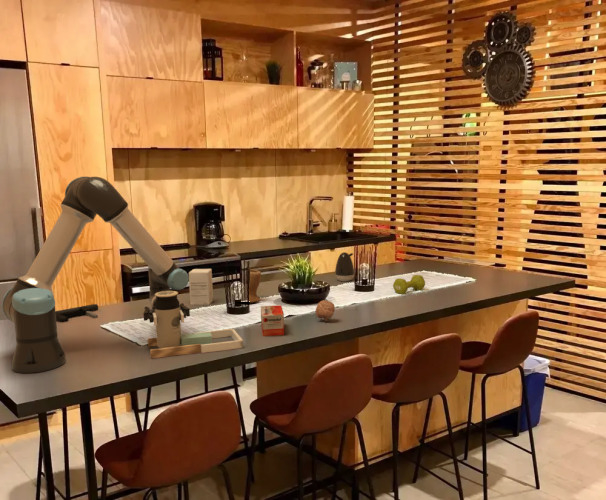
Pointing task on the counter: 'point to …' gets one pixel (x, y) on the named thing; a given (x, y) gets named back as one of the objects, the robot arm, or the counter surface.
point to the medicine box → (272, 320)
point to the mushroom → (325, 310)
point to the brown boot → (254, 285)
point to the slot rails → (172, 349)
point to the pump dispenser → (344, 267)
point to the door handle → (76, 312)
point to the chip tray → (222, 345)
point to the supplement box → (200, 286)
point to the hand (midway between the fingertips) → (169, 320)
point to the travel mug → (168, 319)
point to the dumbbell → (409, 284)
